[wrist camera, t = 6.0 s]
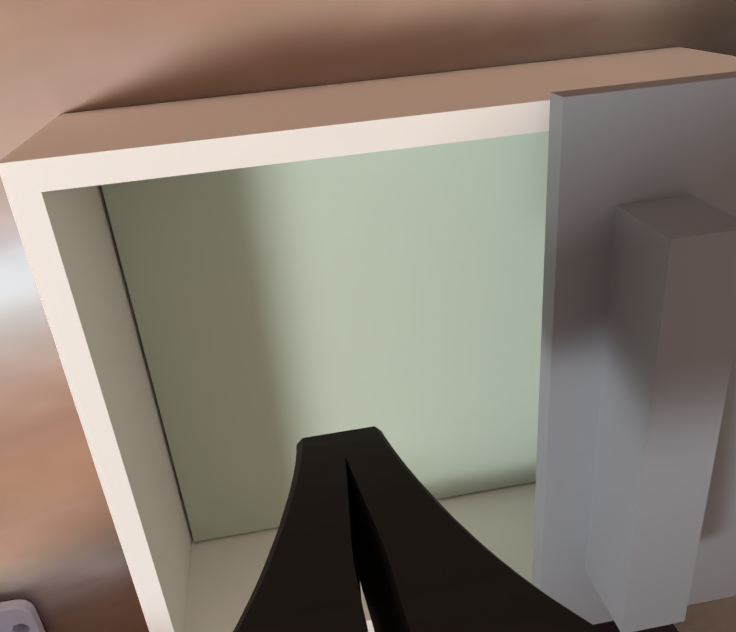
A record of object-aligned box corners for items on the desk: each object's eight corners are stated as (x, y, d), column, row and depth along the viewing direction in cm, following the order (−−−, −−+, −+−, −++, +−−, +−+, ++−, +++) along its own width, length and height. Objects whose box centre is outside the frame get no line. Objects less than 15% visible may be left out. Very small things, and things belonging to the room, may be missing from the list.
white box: (630, 461, 25) (714, 567, 20) (178, 541, 23) (163, 675, 19) (678, 46, 19) (814, 69, 14) (61, 113, 17) (-4, 163, 12)
